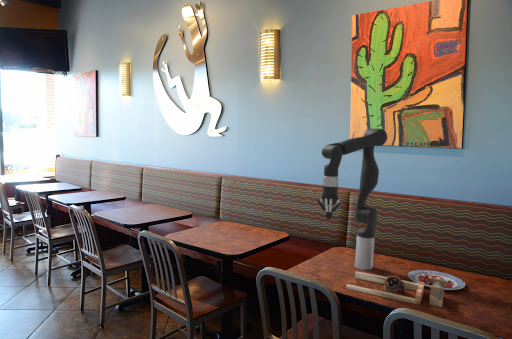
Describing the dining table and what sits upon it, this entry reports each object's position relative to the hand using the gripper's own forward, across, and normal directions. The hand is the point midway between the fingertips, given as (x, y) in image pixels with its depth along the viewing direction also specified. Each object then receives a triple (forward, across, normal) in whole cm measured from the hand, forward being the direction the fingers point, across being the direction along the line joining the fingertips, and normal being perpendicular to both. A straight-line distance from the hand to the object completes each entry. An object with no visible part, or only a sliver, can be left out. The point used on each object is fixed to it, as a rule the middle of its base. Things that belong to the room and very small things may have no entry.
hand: (328, 219), depth 201 cm
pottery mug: (+29, -34, +4) cm, 45 cm away
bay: (+29, -30, +4) cm, 42 cm away
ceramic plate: (+30, -50, -20) cm, 61 cm away
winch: (+29, -52, +5) cm, 60 cm away
